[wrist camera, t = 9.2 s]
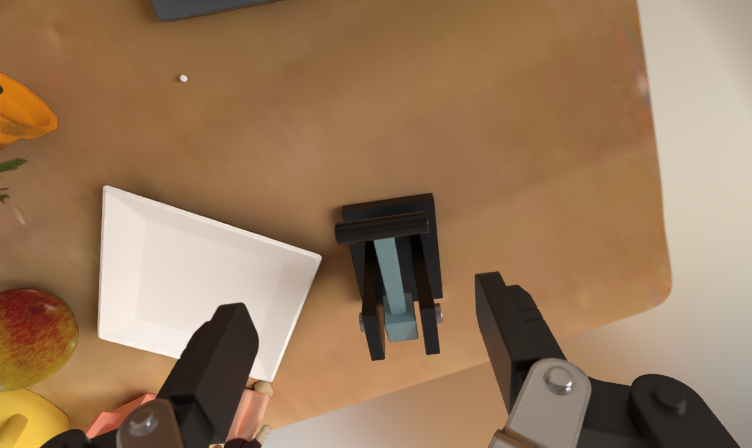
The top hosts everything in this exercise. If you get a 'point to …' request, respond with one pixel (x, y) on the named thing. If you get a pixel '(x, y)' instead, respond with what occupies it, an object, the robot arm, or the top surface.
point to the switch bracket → (415, 268)
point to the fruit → (33, 337)
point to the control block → (198, 7)
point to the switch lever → (389, 265)
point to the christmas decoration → (23, 116)
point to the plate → (193, 278)
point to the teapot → (28, 420)
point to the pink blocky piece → (114, 417)
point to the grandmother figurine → (250, 418)
